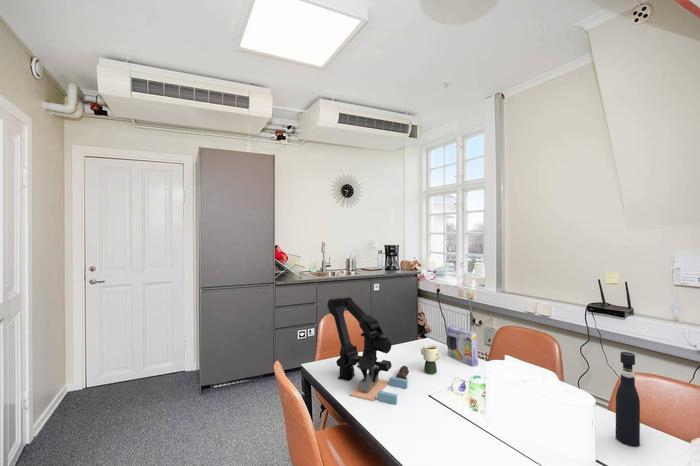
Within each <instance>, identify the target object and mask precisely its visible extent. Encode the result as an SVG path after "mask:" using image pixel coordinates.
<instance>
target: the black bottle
mask: <svg viewBox="0 0 700 466" xmlns="http://www.w3.org/2000/svg"><path fill="white" fill-rule="evenodd" d="M620 363H622V369H621V374H620V382H619V385H618V387H617V390H616V393H615V440H616V441H618V442H619V443H621V444H623V445H625V446H629V447H633V448H638V447H640V445H641V444H640V441H641V435H640V433H641V400H640V396H639V392H638V390H637V387H636V385H635V383H636V382H635V381H636V379H635V375H634V374H635V372H634V371H633V366H635V365H636V354H634V353H632V352H629V351H628V352H627V351H621V352H620Z"/></svg>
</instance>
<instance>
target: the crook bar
mask: <svg viewBox="0 0 700 466" xmlns="http://www.w3.org/2000/svg"><path fill="white" fill-rule="evenodd" d="M374 369H375V366H374V367H370V369H369V370H368V372H367V375H366V376H365V377H363V378H362V379H360V381H359V385H360V390H361V391H366V392H369V391H370V390H371V389H372V388H373V387H374V385H375V384H376V383H377V382H378V379H379V375H378V376H377V379H376V382H375V383H374Z"/></svg>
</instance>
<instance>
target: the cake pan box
mask: <svg viewBox="0 0 700 466" xmlns="http://www.w3.org/2000/svg"><path fill="white" fill-rule="evenodd" d="M477 334H478V333H477V332H475V331H472V330H469V329H466V328H464V327H463V328H462V327H458V326H456V325H453V324H452V325H449V326H446V339H445V340H446V346H447V357H449V358H452V359H454V360H456V361H459V362H462V363H464V364H466V365H469V366H471V367H475V366H478V365H479V359H478V358H479V357H478V335H477Z"/></svg>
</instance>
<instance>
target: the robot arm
mask: <svg viewBox="0 0 700 466" xmlns="http://www.w3.org/2000/svg"><path fill="white" fill-rule="evenodd" d="M326 305H327V310H328V311H329V313H330V314H331V316H332V317H333V318H334V322H335V326H336V331H337V335H338V338H339V342H340V350H339V357H338V359H337V360H336V366H337V367H339V375H338V377H337V379H338V380H344V381H348V382H349V381H351V380H353V379H354V377H355V376H356V375H355V368H354V366H356V367H357V368H358V369H359V370H360V371H361V374H362V377H363V378H364V377H365V376H366V375H367V374H368V371H369V369H370V367H374V366H375V369H374V383H375V382H376V379H377V376H378V377H379V373H380V372H389V370H390V369H392V362H391V360H387V359H386V360H385V359H383V360H382V361H378V357H377V352H381V353H384V354H388V353H390V351H391V350H392V343H391V340H389V337H388V336H384V332H383V329H382V328H381V326H380V324H379V321H378V320H377V319H376V318H375V317H373V316H371V315H368V314H366V313H365V311H363V310H362V309H361V308H360V306H359V305H357V304H356V303H355V302H354V300H353V298H351V297H349V296H348V297H343V298H341V297H334V298H330V299H329V300H328V302H327V304H326ZM346 310H347V311H348V312H349V313H350V314H351V316H352V317H353V318H355V320H357V322H358V325H359V328H360V329H361V331H362V333H361V334H360V337H363V350H362V355H359V352H358V349H357V345H353V344H352V342H351V338H350V335H349V330H348V326H347V322H346V318H345V311H346Z"/></svg>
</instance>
